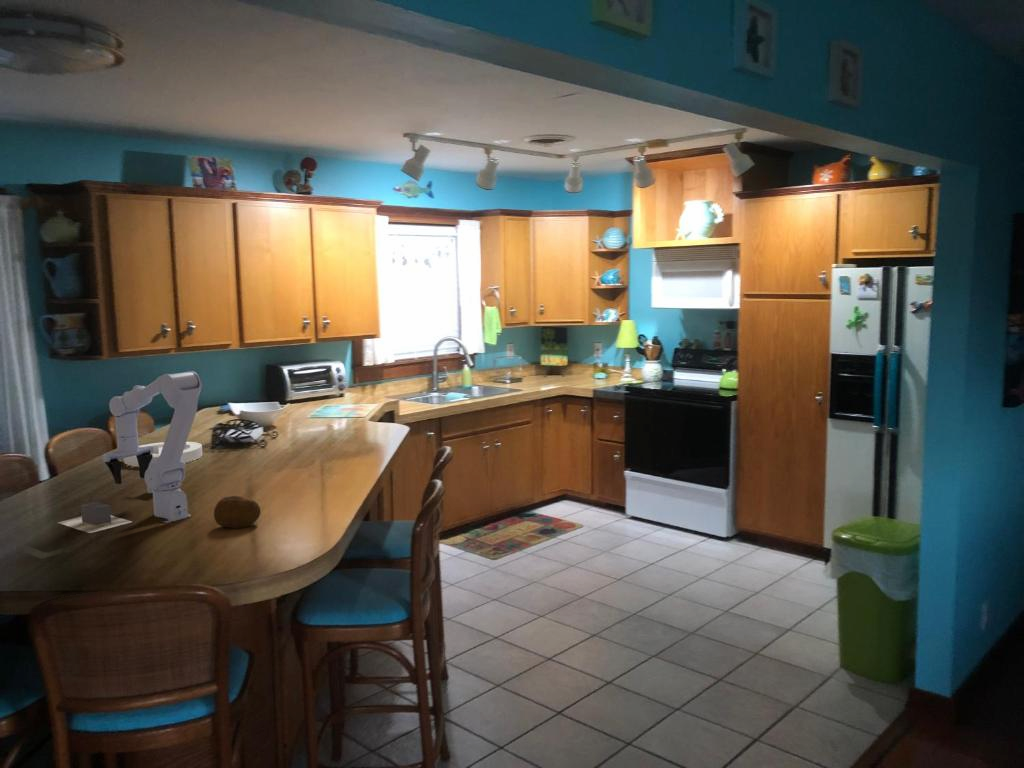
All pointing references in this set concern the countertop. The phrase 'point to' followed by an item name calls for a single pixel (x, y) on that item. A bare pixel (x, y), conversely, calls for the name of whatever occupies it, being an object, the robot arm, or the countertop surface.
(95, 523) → the block
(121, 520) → the board
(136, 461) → the white flat ring
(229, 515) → the potato
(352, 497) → the countertop surface
